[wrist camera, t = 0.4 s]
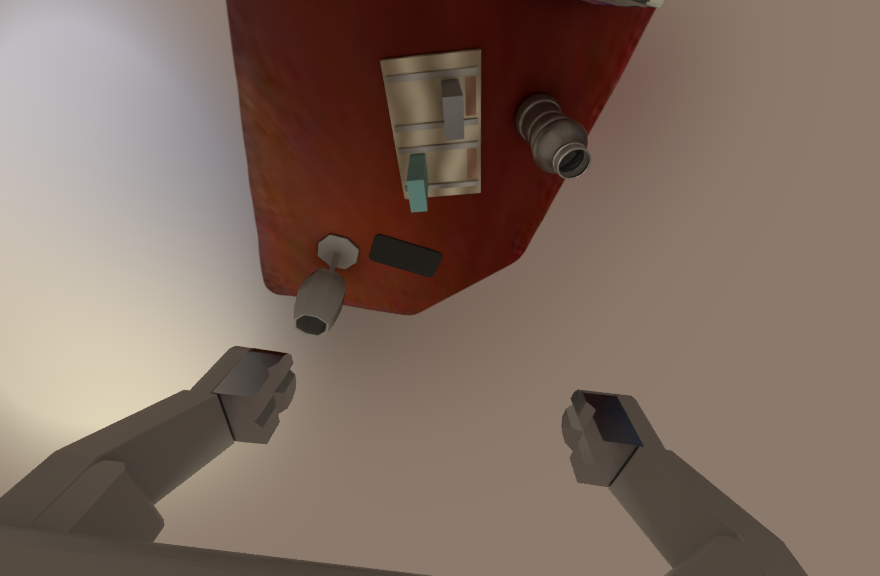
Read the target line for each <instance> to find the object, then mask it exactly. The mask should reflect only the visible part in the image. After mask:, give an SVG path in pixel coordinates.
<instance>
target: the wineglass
mask: <svg viewBox="0 0 880 576" xmlns="http://www.w3.org/2000/svg"><path fill="white" fill-rule="evenodd" d="M358 252H359V248H358V247H356V246H355V245H354V244H353V243H352V242H351V241H350V240H349V239H348V238H346V237H341V236H337V235H333V234H330V235H328V236H327V237H325V238H324V239H323V240H321V241H320V242H319V245H318V256H319V257H320V258H321V259H322V260H323V261H325V262H326V263H327V264H328V265H330V266H329V269H328V270H327V269H323V268H319V269H317V270H316V271H314V272H313V273H311V274H310V275H309V276H308V277H307V278H306V279H305V280H304V281H303V282H302V284H301V287H300V289H299V291H298V294H297V298H296V302H295V307H294V328H295V329H296V330H298V331H299V332H301V333H303V334H304V335H308V336H314V337H320V336H322V335H324V334H326V333H328V331H329V330H330V329H331V328H332V326H333V325H334V323H335V322H336V320H337V318H338V316H339V314H340V312H341V309H342V306H343V302H344V297H345V291H346V286H345V279H344V278H342V277H341V276H340V275H339V274H337V273H336V272H335V270H336V267H338V268H342V269H347V268H348V267H350V266H351V265H353V264H354V263H356V262H357V258H358Z"/></svg>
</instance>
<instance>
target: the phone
mask: <svg viewBox="0 0 880 576" xmlns="http://www.w3.org/2000/svg"><path fill="white" fill-rule="evenodd" d="M369 257H370V259H371V260H372V261H375V262H378V263H382V264H385V265H389V266H392V267H396V268H399V269H402V270H406V271H409V272H413V273H416V274H419V275H423V276H426V277H431V276H433V275H434V273H435V271H436V269H437V267H438V265H439V263H440V261H441V259H442V254H441V253H440V252H437V251H434V250H431V249H428V248H425V247H422V246H419V245H415V244H412V243H409V242H405V241H402V240H399V239H396V238H392V237H389V236H386V235H383V234H377V235H376V236H375V239H374V242H373V245H372V248H371V252H370V255H369Z"/></svg>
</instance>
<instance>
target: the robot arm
mask: <svg viewBox="0 0 880 576" xmlns="http://www.w3.org/2000/svg"><path fill="white" fill-rule="evenodd" d="M292 364H293V361H292V356H291V355H290V354H288V353H282V352H275V351H269V350H262V349H256V348H247V347H240V346H234V347H232V348H230V349H229V350H228V351H227V352H226V353H225V354H224V355H223V356H222V357H221V358H220V359H219V360H218V361H217V362H216V363H215V364H214V365H213V367H212V368H211V369H210V370H209V371H208V372H207V373H206V374H205V375H204V376H203V377H202V378H201V379H200V380H199V381H198V382H197V383H196V384H195V385H194V386H193V387H192V389H191V390H190V391H189V390H183V391H181V392H179V393H177V394H174V395H172V396H170V397H168V398H166V399H164V400H162V401H160V402H157V403H155V404H153V405H151V406H149V407H147V408H145V409H143V410H141V411H139V412H137V413H135V414H132V415H130V416H128V417H126V418H124V419H122V420H120V421H118V422H116V423H113V424H111V425H109V426H107V427H105V428H103V429H101V430H99V431H97V432H95V433H93V434H91V435H88V436H86V437H84V438H82V439H80V440H78V441H76V442H74V443H72V444H70V445H68V446H65V447H63V448H61V449H59V450H57V451H55V452H54V453H53V454H51V455H50V456H49V457H48V458H47V459H45V460H44V461H43V462H42V463H41V464H39V465H38V466H37V467H36V468H35V469H34V470H32V471H31V473H29V474H28V475H27V476H25V478H23V479H22V480H21V481H20V482H18V483H17V484H16V485H15V486H14V487H13V488H11V490H9V491H8V492H7V493H6V494H4V495H3V496H2V497H1V498H0V576H430V575H420V574H413V573H405V572H396V571H388V570H379V569H371V568H362V567H355V566H346V565H337V564H329V563H321V562H313V561H304V560H296V559H288V558H279V557H271V556H263V555H254V554H246V553H237V552H229V551H221V550H212V549H204V548H195V547H187V546H179V545H170V544H162V543H154V540H155V539H156V537H157V536H158V534H159V533H160V531H161V530H162V528H163V527H164V520H163V518H162V516H161V515H160V514H159V512H158V511H157V509H156V508H155V507H154V504H156V503H157V502H158V501H159V500H161V499H162V498H163V497H165V496H166V495H167V494H169V493H170V492H171V491H172V490H174V489H175V488H176V487H178V486H179V485H180V484H182V483H183V482H184V481H185V480H187V479H188V478H189V477H191V476H192V475H193V474H194V473H196V472H197V471H198V470H200V469H201V468H202V467H204V466H205V465H206V464H208V463H209V462H210V461H211V460H213V459H214V458H215V457H217V456H218V455H219V454H221V453H222V452H223V451H224V450H226V449H227V448H228V447H230V446H231V445H232V444H234V441H239V442H250V443H260V444H267V443H268V441H269V440H270V438H271V436H272V434H273V433H274V431H275V429H276V427H277V426H278V424H279V417H278V414H279V413H281V412H282V411H284V410H285V409H287V408H288V406H289V404H290V403H291V401H292V399H293V395H294V392H295V389H296V378H295V374H294V373H293V372H292V371H291V370H290V368H291V366H292ZM571 401H572V403H573V405H571V406H570V407H568V408H566V410H565V412H564V414H563V417H562V433H563V437H564V440H565V443H566V444H567V445H568V446H569V447H570V448H571V449H572V451H573V452H572V454H571V456H570V460H571V463H572V467H573V470H574V473H575V476H576V479H577V482H578V483H585V484H591V485H598V486H605V487H610V488H609V490H610V491H611V492H612V494H613V495H614V496H615V497H616V498H617V500H618V501H619V502H620V503H621V505H622V506H623V507H624V508H625V510H626V511H627V512H628V513H629V515H630V516H631V517H632V518H633V520H634V521H635V522H636V523H637V525H638V526H639V527H640V528H641V530H642V531H643V532H644V533H645V534H646V536H647V537H648V538H649V539H650V541H651V542H652V543H653V544H654V546H655V547H656V548H657V549H658V551H659V552H660V553H661V554H662V556H663V557H664V558H665V559H666V561H667V562H668V563H669V564H670V565H671V567H672V568H673V569H672V570H671V571H670V572H668V573H667V574H666V575H665V576H808V575H807V574H806V572H805V571H804V570H803V568H802V567H801V566H800V564H799V563H798V561H797V560H796V559H795V557H794V556H793V555H792V553H791V552H790V551H789V549H788V548H787V547H786V545H785V544H784V542H783V541H782V540H780V539H779V538H778V537H777V536H776V535H774V534H773V533H772V532H771V531H769V530H768V529H767V528H766V527H764V526H763V525H762V524H761V523H760V522H758V521H757V520H756V519H754V518H753V517H752V516H751V515H750V514H749V513H747V512H746V511H745V510H744V509H742V508H741V507H740V506H739V505H738V504H736V503H735V502H734V501H733V500H731V499H730V498H729V497H728V496H726V495H725V494H724V493H723V492H722V491H720V490H719V489H718V488H717V487H715V486H714V485H713V484H712V483H711V482H709V481H708V480H707V479H706V478H704V477H703V476H702V475H701V474H699V473H698V472H697V471H696V470H695V469H693V468H692V467H691V466H690V465H689V464H687V463H686V462H685V461H684V460H682V459H681V458H680V457H679V456H677V455H676V454H675V453H674V452H672V451H670V450H666V449H665V448H664V446H663V444H662V443H661V441H660V439H659V438H658V436H657V434H656V433H655V431H654V429H653V428H652V426H651V424H650V423H649V421H648V419H647V418H646V416H645V414H644V413H643V411H642V409H641V408H640V406H639V404H638V403H637V401H636V400H635V399H634V398H633V397H632V396H628V395H620V394H611V393H603V392H593V391H585V390H577V391H575V392H574V393H573V395H572V397H571Z"/></svg>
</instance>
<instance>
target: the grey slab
mask: <svg viewBox="0 0 880 576" xmlns="http://www.w3.org/2000/svg"><path fill="white" fill-rule="evenodd" d="M441 87H442V101H443V115H444V129H445V141H450V140H460V139H464V110H463V94H462V90H461V86H460V83H459V79H450V80H441Z"/></svg>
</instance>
